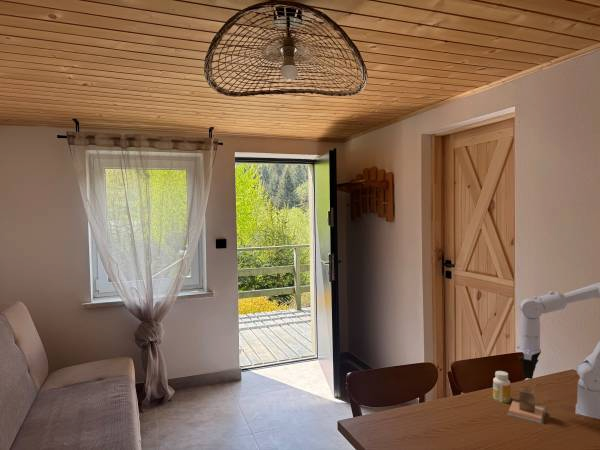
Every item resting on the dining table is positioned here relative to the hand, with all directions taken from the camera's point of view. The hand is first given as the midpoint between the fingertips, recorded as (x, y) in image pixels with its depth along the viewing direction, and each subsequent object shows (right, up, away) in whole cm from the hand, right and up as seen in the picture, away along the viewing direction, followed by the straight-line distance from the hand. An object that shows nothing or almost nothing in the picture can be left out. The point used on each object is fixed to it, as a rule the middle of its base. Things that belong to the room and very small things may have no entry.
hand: (529, 374), depth 138 cm
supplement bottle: (-8, -11, +3) cm, 14 cm away
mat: (-4, -11, -5) cm, 13 cm away
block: (-5, -9, -7) cm, 12 cm away
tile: (-3, -9, -4) cm, 10 cm away
